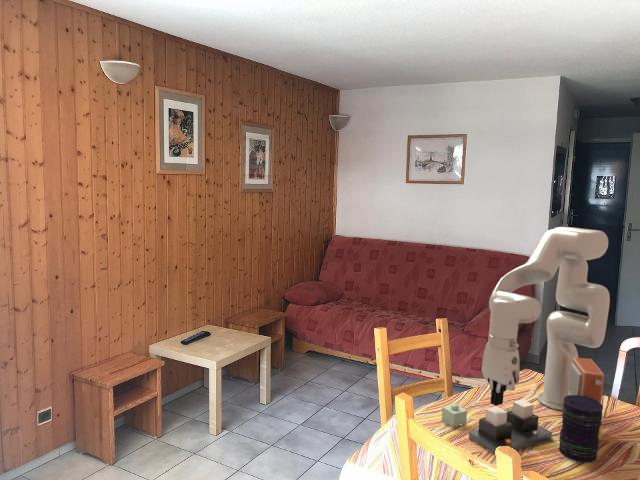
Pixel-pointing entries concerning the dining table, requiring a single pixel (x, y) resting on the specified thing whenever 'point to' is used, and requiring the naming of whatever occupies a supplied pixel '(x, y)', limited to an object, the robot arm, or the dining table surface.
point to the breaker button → (522, 409)
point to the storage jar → (580, 428)
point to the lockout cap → (454, 414)
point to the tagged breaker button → (496, 416)
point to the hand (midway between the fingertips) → (496, 403)
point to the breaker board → (510, 433)
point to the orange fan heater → (585, 379)
